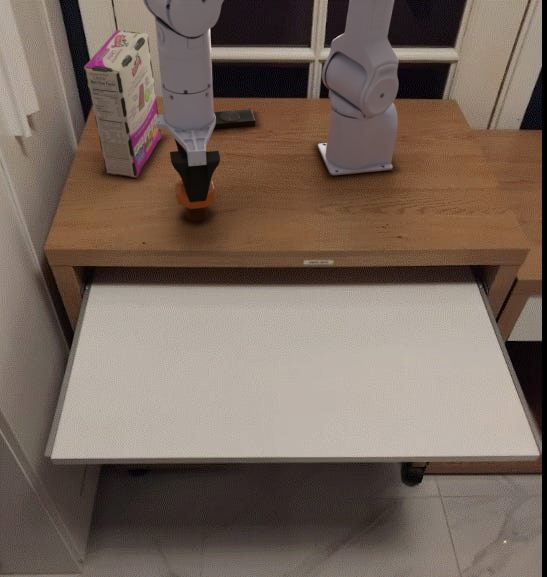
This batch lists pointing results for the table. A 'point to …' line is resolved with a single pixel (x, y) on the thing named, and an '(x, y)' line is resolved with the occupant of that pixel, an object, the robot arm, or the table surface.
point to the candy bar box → (124, 102)
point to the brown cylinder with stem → (196, 214)
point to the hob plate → (234, 119)
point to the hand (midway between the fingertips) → (194, 181)
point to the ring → (184, 201)
